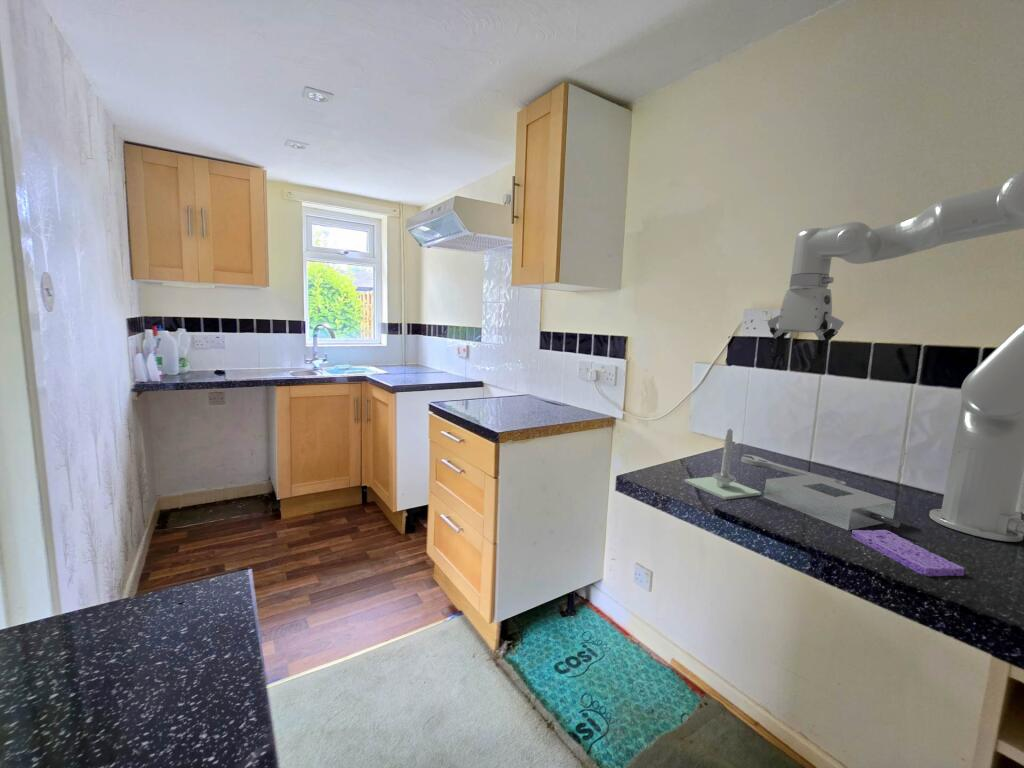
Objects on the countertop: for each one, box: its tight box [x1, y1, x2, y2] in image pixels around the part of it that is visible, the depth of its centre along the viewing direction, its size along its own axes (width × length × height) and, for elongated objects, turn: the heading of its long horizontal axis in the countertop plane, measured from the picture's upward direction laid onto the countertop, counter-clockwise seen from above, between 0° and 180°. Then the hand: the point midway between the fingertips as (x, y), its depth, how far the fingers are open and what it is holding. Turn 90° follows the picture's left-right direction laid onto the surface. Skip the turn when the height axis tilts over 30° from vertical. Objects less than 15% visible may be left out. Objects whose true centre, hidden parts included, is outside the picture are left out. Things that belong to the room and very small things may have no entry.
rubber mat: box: [683, 476, 762, 500], centre depth 99 cm, size 11×11×1 cm
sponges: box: [851, 529, 965, 577], centre depth 72 cm, size 7×13×2 cm, turn 7°
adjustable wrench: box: [740, 454, 847, 486], centre depth 116 cm, size 25×6×2 cm, turn 30°
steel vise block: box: [763, 475, 901, 531], centre depth 89 cm, size 20×14×4 cm
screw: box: [711, 428, 737, 488], centre depth 98 cm, size 13×5×5 cm
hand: (798, 356), depth 107 cm, fingers open, 9 cm apart
